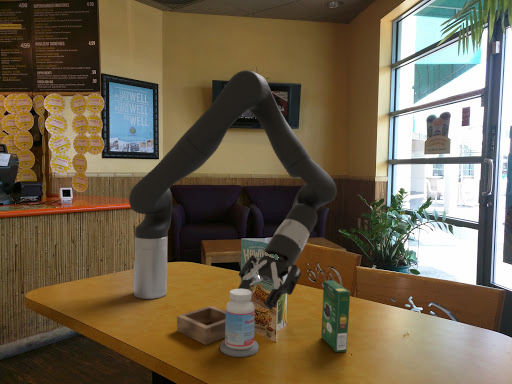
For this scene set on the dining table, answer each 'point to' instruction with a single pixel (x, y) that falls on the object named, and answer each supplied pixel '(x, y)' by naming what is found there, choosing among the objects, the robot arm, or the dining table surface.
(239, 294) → the pill bottle
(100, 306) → the dining table surface
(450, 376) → the dining table surface
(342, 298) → the coffee box
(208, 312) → the square open box
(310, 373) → the dining table surface
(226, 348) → the coaster
